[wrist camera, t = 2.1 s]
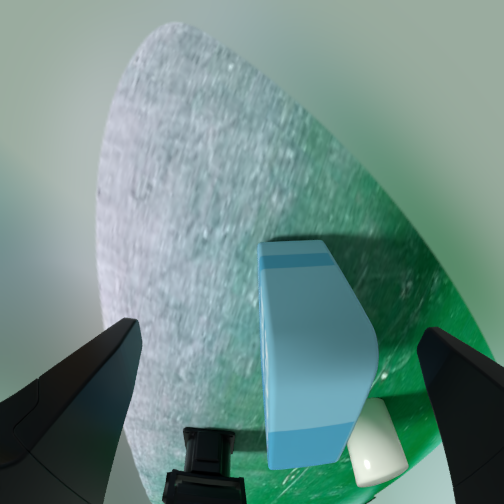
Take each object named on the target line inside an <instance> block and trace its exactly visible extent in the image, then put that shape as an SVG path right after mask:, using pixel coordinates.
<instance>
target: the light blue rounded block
mask: <svg viewBox="0 0 504 504" xmlns="http://www.w3.org/2000/svg"><path fill="white" fill-rule="evenodd" d="M257 252H258V284H259V317H260V350H261V369H262V384H263V399H264V414H265V428H266V443H267V458H268V467H269V469H271V470H278V469H290V468H299V467H307V466H315V465H322V464H328V463H334V462H336V461H338V460H339V458H340V456H341V454H342V452H343V450H344V448H345V446H346V444H347V442H348V440H349V438H350V436H351V433H352V431H353V429H354V427H355V425H356V422H357V420H358V418H359V416H360V413H361V411H362V409H363V406H364V404H365V401H366V399H367V396H368V394H369V391H370V389H371V386H372V383H373V381H374V378H375V375H376V372H377V368H378V359H379V352H378V342H377V337H376V333H375V330H374V328H373V326H372V324H371V322H370V320H369V318H368V316H367V315H366V313H365V311H364V309H363V307H362V306H361V304H360V302H359V300H358V299H357V297H356V295H355V293H354V292H353V290H352V288H351V286H350V285H349V283H348V281H347V280H346V278H345V276H344V274H343V273H342V271H341V269H340V268H339V266H338V264H337V263H336V261H335V259H334V258H333V256H332V254H331V253H330V251H329V250H328V248H327V246H326V245H325V243H324V242H323V241H322V240H303V241H279V242H261V243H259V244H258V248H257Z"/></svg>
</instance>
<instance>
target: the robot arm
mask: <svg viewBox="0 0 504 504" xmlns="http://www.w3.org/2000/svg"><path fill="white" fill-rule="evenodd" d="M141 351H142V337H141V331H140V326H139V322H138V320H137V319H132V318H123V319H121V320H120V321H118V322H117V323H115V324H114V325H112V326H111V327H110V328H108V329H107V330H105V331H104V332H102V333H101V334H99V335H98V336H97V337H95V338H94V339H93V340H91V341H89V342H88V343H86V344H85V345H84V346H82V347H81V348H79V349H78V350H76V351H75V352H74V353H72V354H71V355H69V356H68V357H66V358H65V359H64V360H62V361H61V362H60V363H58V364H57V365H55V366H54V367H52V368H51V369H50V370H48V371H47V372H45V373H44V374H42V375H41V376H40V377H39V379H35V380H34V381H33V382H31V383H30V384H28V385H27V386H25V387H24V388H23V389H21V390H20V391H18V392H17V393H15V394H14V395H12V396H10V397H9V398H7V399H5V400H4V401H2V402H0V504H103V502H104V497H105V493H106V488H107V484H108V480H109V476H110V472H111V468H112V464H113V460H114V456H115V452H116V449H117V445H118V442H119V438H120V435H121V431H122V428H123V424H124V421H125V418H126V414H127V411H128V408H129V404H130V401H131V398H132V394H133V390H134V386H135V380H136V375H137V370H138V365H139V360H140V355H141ZM417 355H418V358H419V362H420V366H421V370H422V374H423V378H424V382H425V386H426V390H427V393H428V396H429V399H430V402H431V405H432V408H433V412H434V415H435V418H436V421H437V425H438V428H439V432H440V435H441V439H442V442H443V446H444V450H445V454H446V458H447V462H448V466H449V471H450V475H451V480H452V485H453V491H454V496H455V502H456V504H504V367H502V366H500V365H499V364H498V363H496V362H495V361H493V360H491V359H490V358H488V357H487V356H485V355H483V354H482V353H480V352H478V351H477V350H475V349H474V348H472V347H470V346H469V345H467V344H465V343H464V342H462V341H460V340H459V339H457V338H456V337H454V336H452V335H451V334H449V333H447V332H446V331H444V330H442V329H441V328H439V327H429V328H427V329H426V330H425V332H424V334H423V336H422V338H421V340H420V342H419V344H418V346H417ZM183 434H184V441H185V447H186V457H185V466H184V471H178V470H176V469H173V470H172V472H167V476H166V483H165V488H164V492H163V497H162V501H163V502H164V503H165V504H247V502H246V493H245V485H244V477H239V478H234V477H230V455H231V454H233V447H234V440H235V433H234V432H223V431H211V430H200V429H191V428H184V429H183Z"/></svg>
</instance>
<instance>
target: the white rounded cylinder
mask: <svg viewBox="0 0 504 504" xmlns="http://www.w3.org/2000/svg"><path fill="white" fill-rule="evenodd" d="M347 446H348V450H349V454H350V458H351V462H352V466H353V470H354V474H355V478H356V482H357V486H358V487H369V486H373V485H377V484H380V483H383V482H386V481H388V480H390V479H393V478H395V477H396V476H398V475H400V474H401V473H403V472H404V471H405V470H407V468H408V463H407V460H406V457H405V455H404V452H403V449H402V446H401V444H400V441H399V438H398V436H397V433H396V430H395V428H394V425H393V423H392V420H391V418H390V415H389V412H388V410H387V407H386V405H385V402H384V401H383V400H382V399H380V398H369V399H366V401H365V404H364V406H363V409H362V411H361V413H360V416H359V418H358V420H357V422H356V425H355V427H354V429H353V431H352V433H351V436H350V438H349V440H348V442H347Z"/></svg>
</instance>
